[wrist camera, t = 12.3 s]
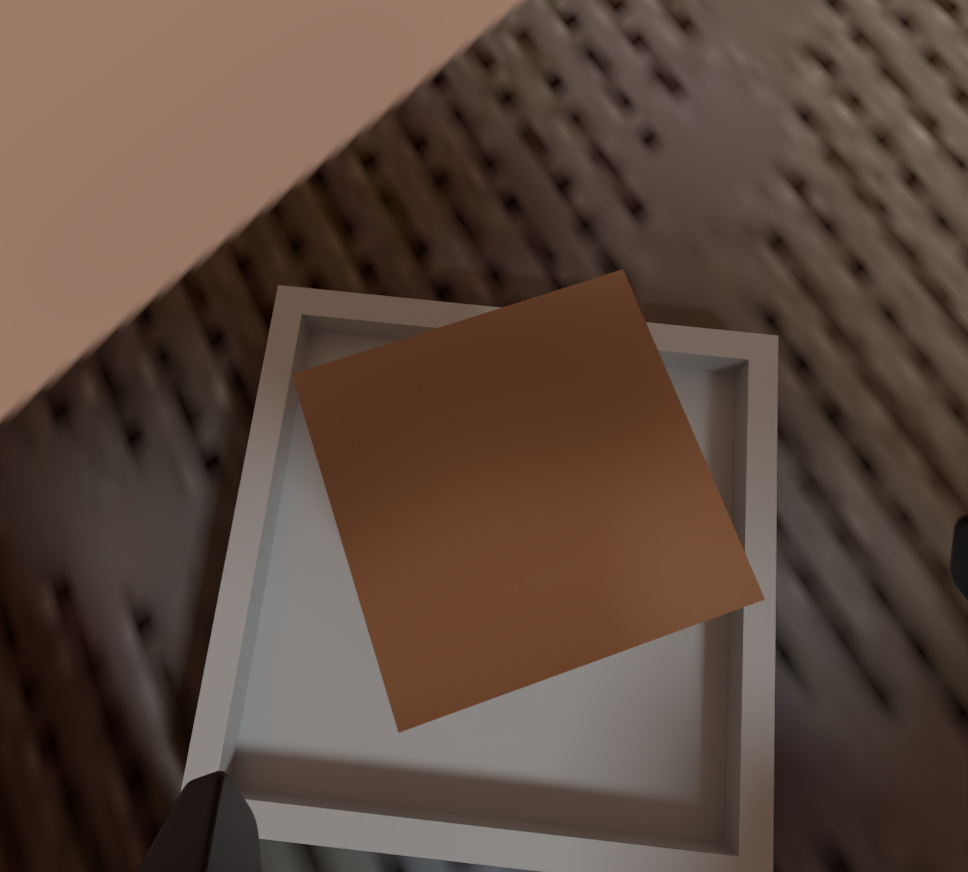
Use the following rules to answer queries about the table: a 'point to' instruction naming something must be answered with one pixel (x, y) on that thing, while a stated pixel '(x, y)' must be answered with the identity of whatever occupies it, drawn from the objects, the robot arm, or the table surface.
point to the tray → (513, 716)
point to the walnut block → (519, 497)
